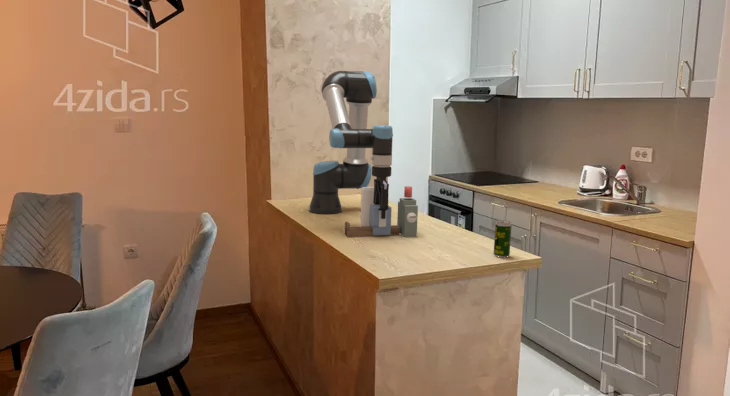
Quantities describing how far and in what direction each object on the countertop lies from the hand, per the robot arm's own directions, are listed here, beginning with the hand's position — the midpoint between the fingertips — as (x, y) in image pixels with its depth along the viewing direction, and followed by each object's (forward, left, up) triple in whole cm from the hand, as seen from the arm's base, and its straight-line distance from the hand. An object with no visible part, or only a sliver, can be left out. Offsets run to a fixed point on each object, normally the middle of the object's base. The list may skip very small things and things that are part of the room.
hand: (380, 224), depth 218 cm
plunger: (0, +11, +11) cm, 15 cm away
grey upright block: (0, +11, -4) cm, 12 cm away
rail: (0, -3, -4) cm, 5 cm away
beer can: (+36, +34, -4) cm, 50 cm away
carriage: (0, 0, -4) cm, 4 cm away
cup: (-15, 0, -4) cm, 15 cm away
